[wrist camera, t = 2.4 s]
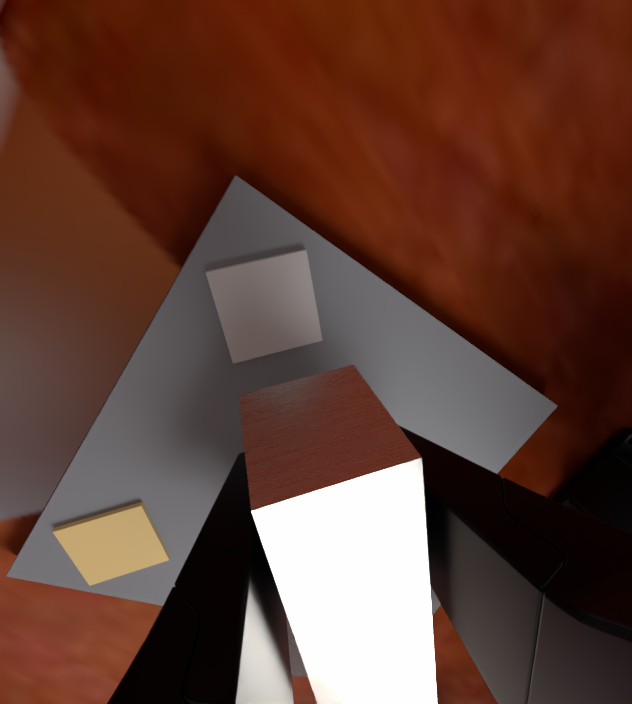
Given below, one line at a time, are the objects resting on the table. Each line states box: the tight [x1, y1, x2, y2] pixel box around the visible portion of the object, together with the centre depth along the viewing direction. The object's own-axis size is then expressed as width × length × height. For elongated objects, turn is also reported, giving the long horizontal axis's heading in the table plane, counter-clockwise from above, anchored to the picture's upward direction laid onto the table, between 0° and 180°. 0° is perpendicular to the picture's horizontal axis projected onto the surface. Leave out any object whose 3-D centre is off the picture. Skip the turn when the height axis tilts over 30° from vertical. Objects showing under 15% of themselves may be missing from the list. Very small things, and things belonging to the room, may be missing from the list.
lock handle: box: [238, 365, 441, 704], centre depth 11 cm, size 15×8×5 cm, turn 10°
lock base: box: [7, 175, 557, 606], centre depth 15 cm, size 16×16×4 cm
